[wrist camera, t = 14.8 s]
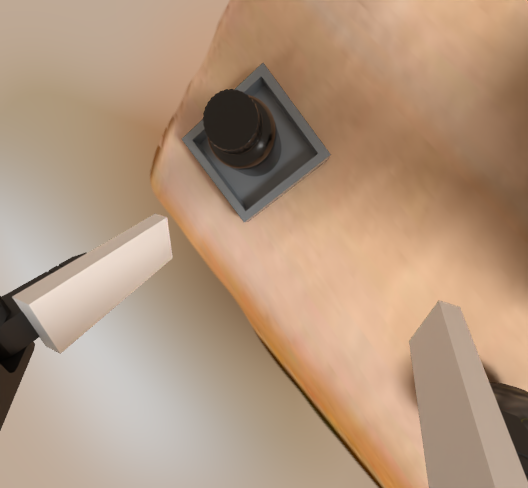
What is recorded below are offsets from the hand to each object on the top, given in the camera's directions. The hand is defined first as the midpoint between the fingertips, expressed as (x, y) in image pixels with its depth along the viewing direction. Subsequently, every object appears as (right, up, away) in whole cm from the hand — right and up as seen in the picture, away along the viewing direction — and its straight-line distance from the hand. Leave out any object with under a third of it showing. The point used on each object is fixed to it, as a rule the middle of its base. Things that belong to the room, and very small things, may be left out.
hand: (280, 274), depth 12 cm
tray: (-2, +14, +20) cm, 25 cm away
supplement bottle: (-2, +14, +20) cm, 24 cm away
